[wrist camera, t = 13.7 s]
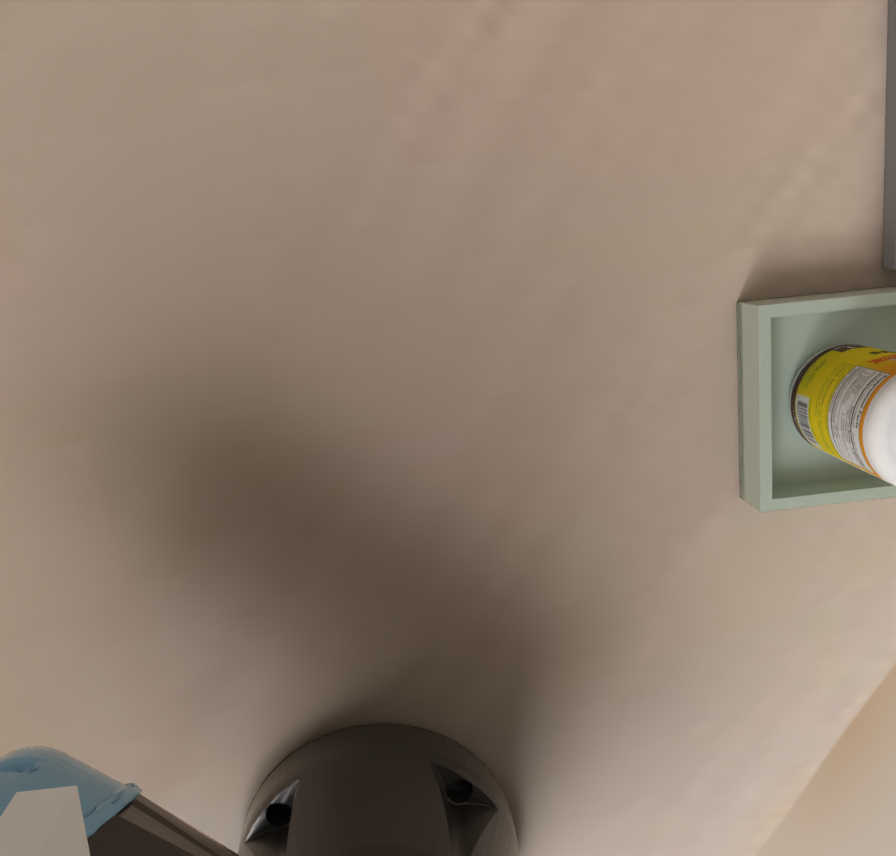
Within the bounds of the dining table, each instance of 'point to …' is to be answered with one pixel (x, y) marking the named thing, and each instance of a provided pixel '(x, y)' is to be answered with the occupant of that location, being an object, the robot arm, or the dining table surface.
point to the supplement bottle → (849, 406)
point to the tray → (768, 386)
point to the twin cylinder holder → (890, 146)
